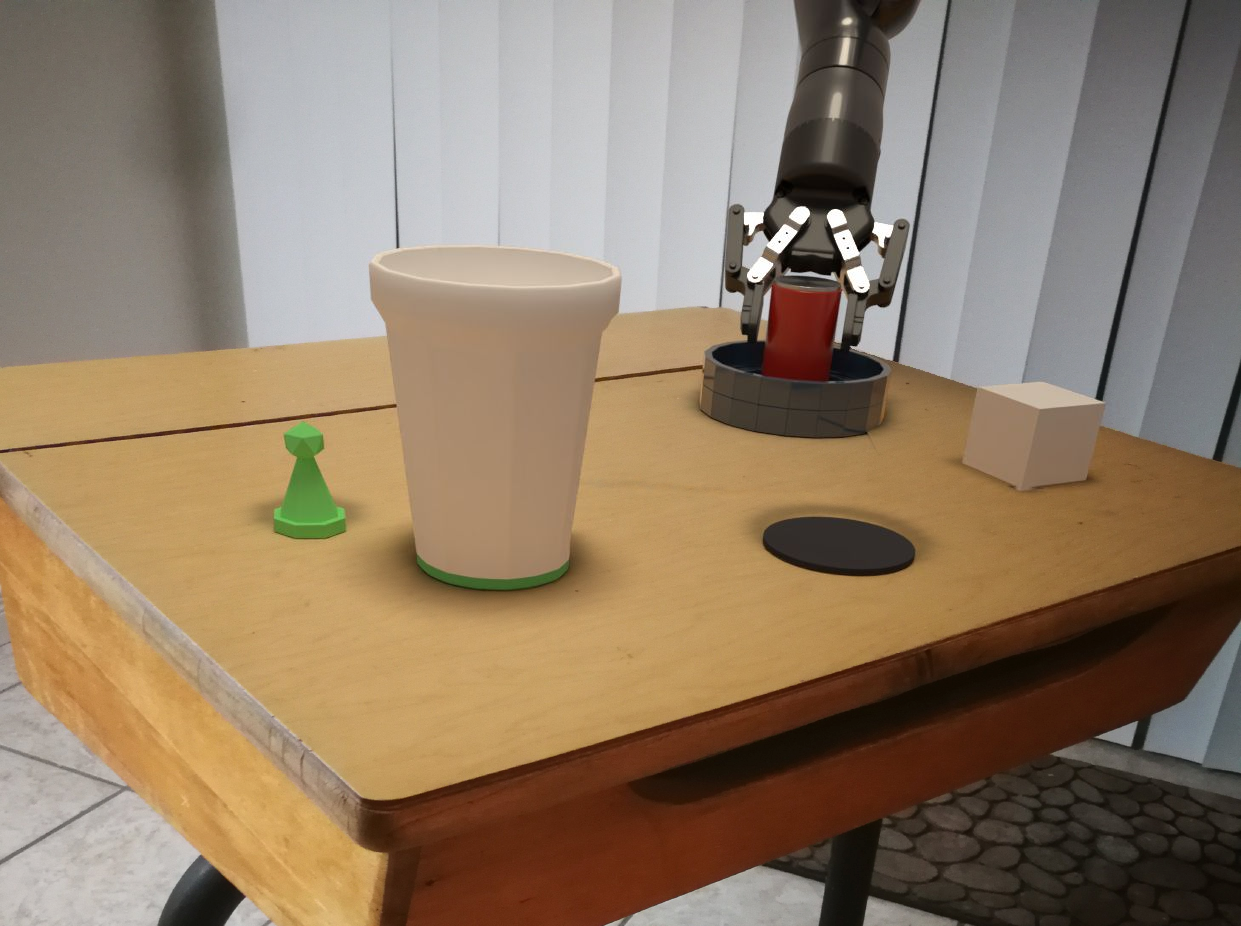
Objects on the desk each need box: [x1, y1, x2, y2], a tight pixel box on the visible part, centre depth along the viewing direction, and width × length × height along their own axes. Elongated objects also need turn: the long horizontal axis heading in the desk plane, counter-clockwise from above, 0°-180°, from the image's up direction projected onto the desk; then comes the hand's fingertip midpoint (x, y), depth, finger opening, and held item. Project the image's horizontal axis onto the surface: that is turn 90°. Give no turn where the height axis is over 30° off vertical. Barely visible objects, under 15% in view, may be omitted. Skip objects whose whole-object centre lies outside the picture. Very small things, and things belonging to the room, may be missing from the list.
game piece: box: [273, 420, 347, 539], centre depth 74 cm, size 4×4×6 cm
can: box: [761, 274, 843, 381], centre depth 99 cm, size 5×5×10 cm
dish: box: [698, 339, 893, 439], centre depth 101 cm, size 14×14×4 cm
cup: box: [368, 244, 623, 591], centre depth 68 cm, size 12×12×15 cm
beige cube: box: [961, 381, 1107, 492], centre depth 90 cm, size 6×6×6 cm
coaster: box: [762, 516, 916, 576], centre depth 77 cm, size 9×9×1 cm
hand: (798, 341), depth 97 cm, fingers open, 6 cm apart
